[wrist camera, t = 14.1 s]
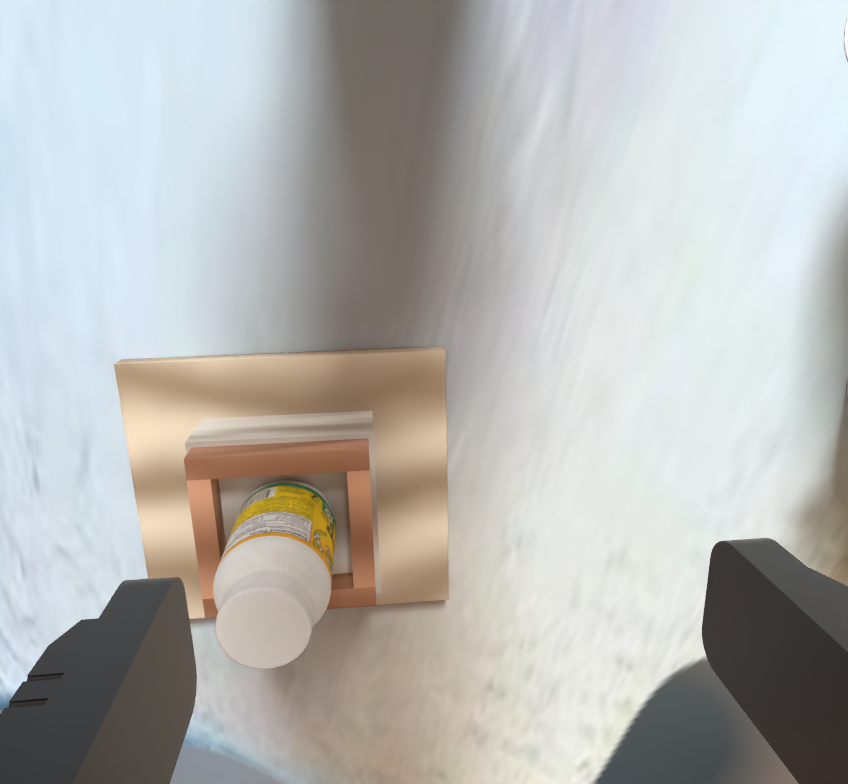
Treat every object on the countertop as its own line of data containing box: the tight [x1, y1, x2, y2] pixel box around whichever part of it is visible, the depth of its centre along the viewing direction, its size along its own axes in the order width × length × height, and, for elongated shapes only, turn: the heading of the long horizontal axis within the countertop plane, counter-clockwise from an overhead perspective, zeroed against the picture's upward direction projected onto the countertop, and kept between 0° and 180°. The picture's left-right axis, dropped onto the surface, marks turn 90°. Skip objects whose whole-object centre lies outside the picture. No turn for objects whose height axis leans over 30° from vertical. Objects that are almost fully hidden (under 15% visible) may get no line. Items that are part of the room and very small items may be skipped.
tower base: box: [114, 347, 449, 619], centre depth 38 cm, size 17×19×7 cm
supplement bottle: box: [213, 479, 336, 669], centre depth 31 cm, size 5×5×10 cm
